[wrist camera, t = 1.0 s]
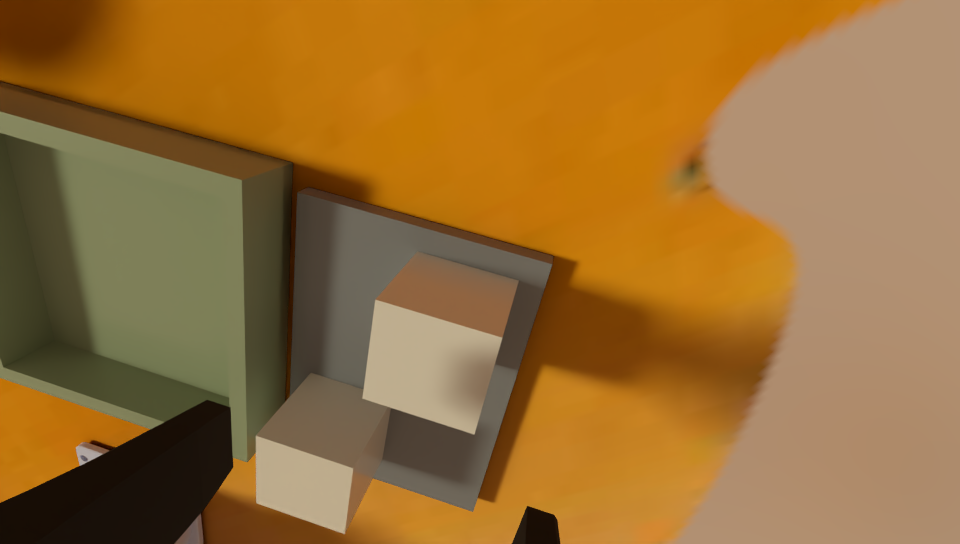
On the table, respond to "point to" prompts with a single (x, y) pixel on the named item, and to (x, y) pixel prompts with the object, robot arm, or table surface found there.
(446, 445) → the slate board
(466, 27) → the table surface
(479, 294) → the stone cube near
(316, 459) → the stone cube far
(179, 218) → the olive dish
